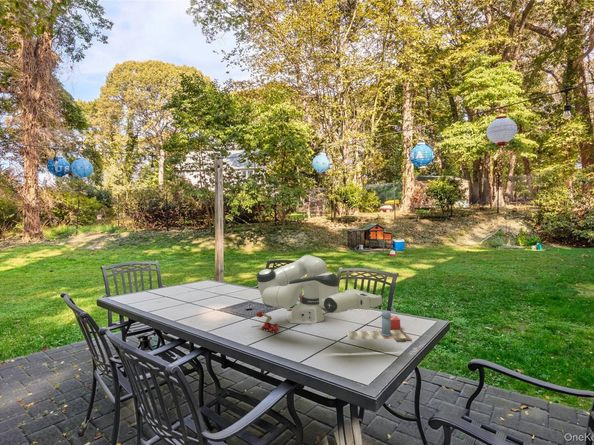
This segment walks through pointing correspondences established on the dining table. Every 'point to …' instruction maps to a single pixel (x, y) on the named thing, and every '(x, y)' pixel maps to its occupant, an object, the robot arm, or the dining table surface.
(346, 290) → the robot arm
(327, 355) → the dining table surface
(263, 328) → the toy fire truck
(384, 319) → the pawn
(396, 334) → the game track
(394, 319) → the red die
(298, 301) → the wooden puzzle
